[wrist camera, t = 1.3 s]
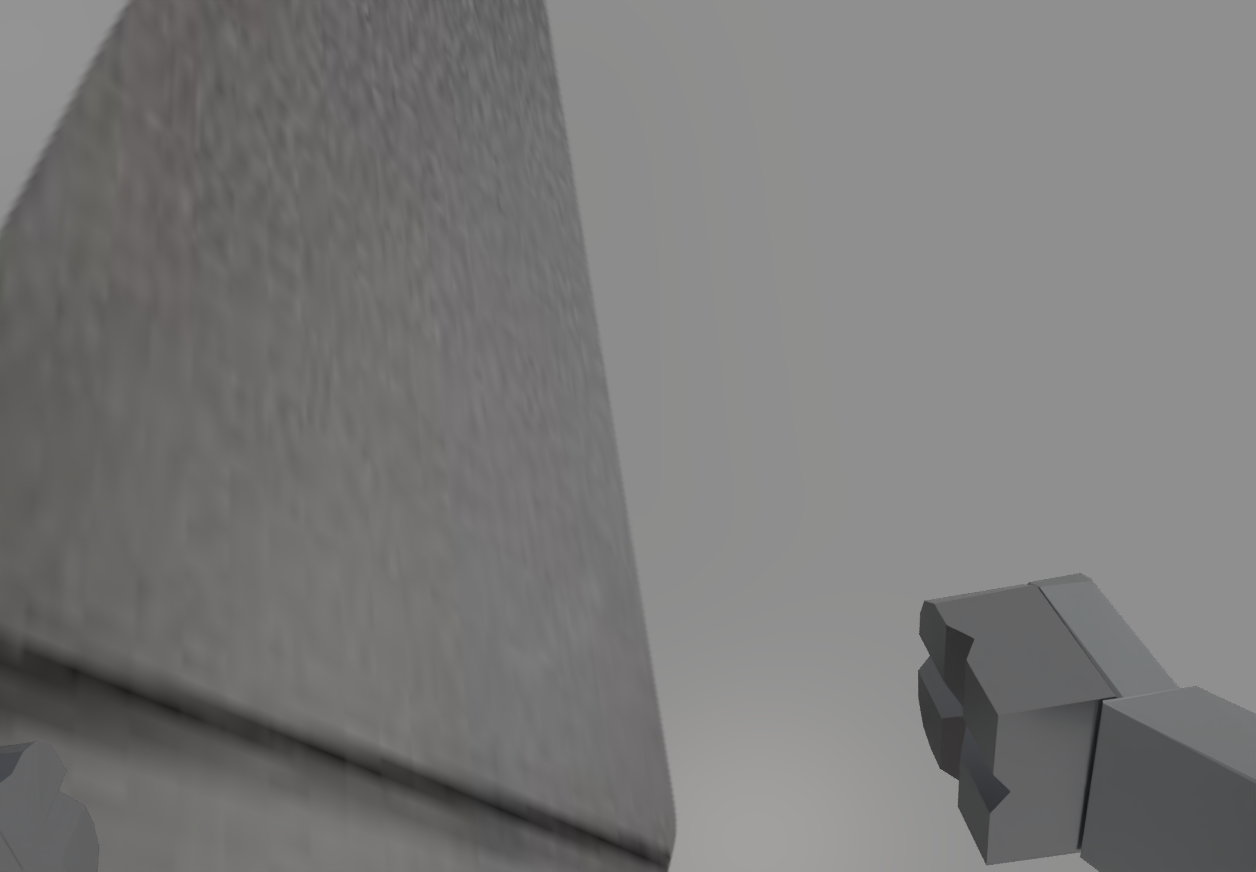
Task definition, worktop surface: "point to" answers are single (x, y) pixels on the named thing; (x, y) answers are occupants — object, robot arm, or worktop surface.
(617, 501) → the worktop surface
